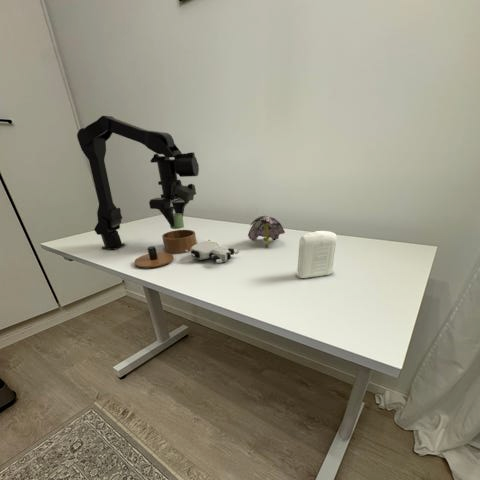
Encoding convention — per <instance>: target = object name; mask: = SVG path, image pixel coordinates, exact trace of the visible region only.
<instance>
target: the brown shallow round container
mask: <svg viewBox="0 0 480 480" xmlns="http://www.w3.org/2000/svg"><path fill="white" fill-rule="evenodd" d="M161 238H162V243H163V248H164V252H166V253H170V254H172V255H176V254H177V255H178V254H185V253H187V252H186V251H185V250H187V251H189V252H190V253H191V251H190V249H191V247H192V246H194V245H195V244H197V243H198V242H197V235H196V232H195V231H194V230H191V229H174V230H170V231H167V232H165V233H163V234H162V235H161Z"/></svg>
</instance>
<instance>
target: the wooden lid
mask: <svg viewBox="0 0 480 480" xmlns="http://www.w3.org/2000/svg"><path fill="white" fill-rule="evenodd" d="M147 252H148V253H147V254H143V255H141V256H138V257H136V258H135V259H134V266H136V267H138V268H148V269H149V268H156V267H161V266H164V265H167V264H169V263H171V262H172V261H173V260H174V254H173V253H168V252H166V251H164V252H162V251H159V252H158V251H157V249H156V246H155V245H152V246H148V247H147Z"/></svg>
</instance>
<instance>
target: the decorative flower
mask: <svg viewBox="0 0 480 480" xmlns="http://www.w3.org/2000/svg"><path fill="white" fill-rule="evenodd" d="M249 227H250V229H249V230H248V233H247V237H248V239H249V240H250V241H251V242H253V241H255V240H257V239H258V238H259V237H262V238H263V241H265V242H266V244H265V248H269V246H270V245H271V244H272V241H271V240H273V241H277V239H280V235H285V234H286V231H285V228H284V227H283V225H282V223H281V222H280V221H279V220H278V219H276V218H275V217H271V216H268V215H262V216H258V217H257V218H255V219H253V221H252V222H251V224H250V225H249ZM270 238H271V240H270Z"/></svg>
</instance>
